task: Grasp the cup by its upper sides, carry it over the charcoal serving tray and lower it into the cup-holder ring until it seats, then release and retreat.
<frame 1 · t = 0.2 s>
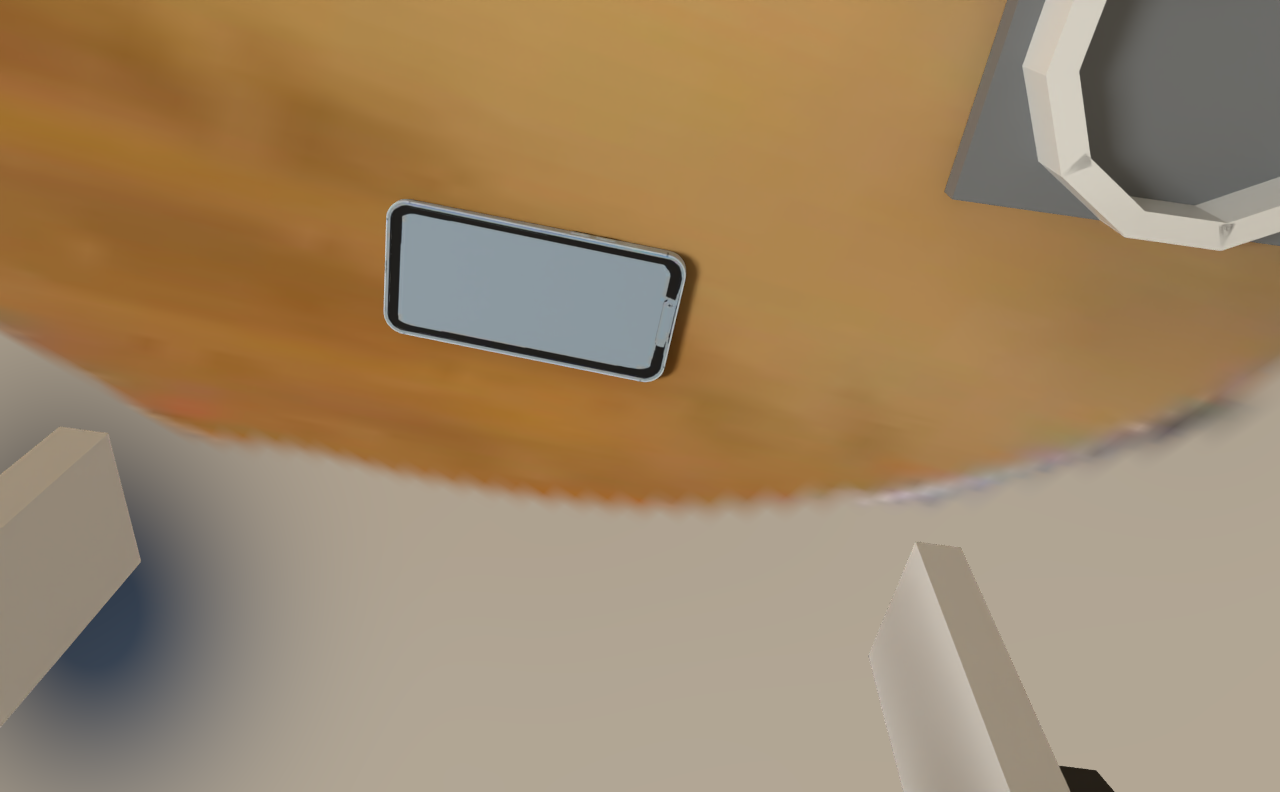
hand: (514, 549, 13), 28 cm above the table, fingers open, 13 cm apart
smartphone: (534, 288, 41), on the table
holder tray: (1214, 35, 33), on the table
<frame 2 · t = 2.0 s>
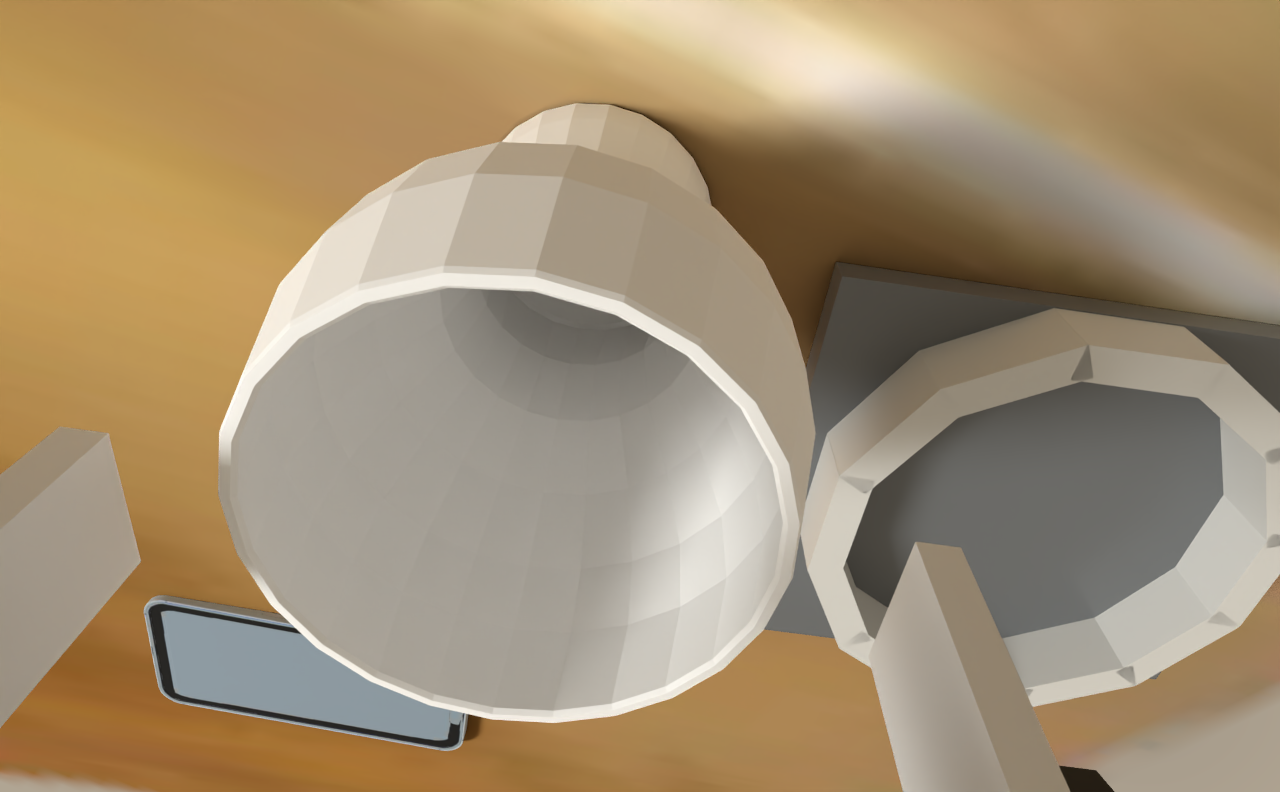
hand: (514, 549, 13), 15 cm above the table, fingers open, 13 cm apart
smartphone: (319, 662, 38), on the table
holder tray: (1011, 488, 31), on the table
cup: (594, 224, 26), on the table
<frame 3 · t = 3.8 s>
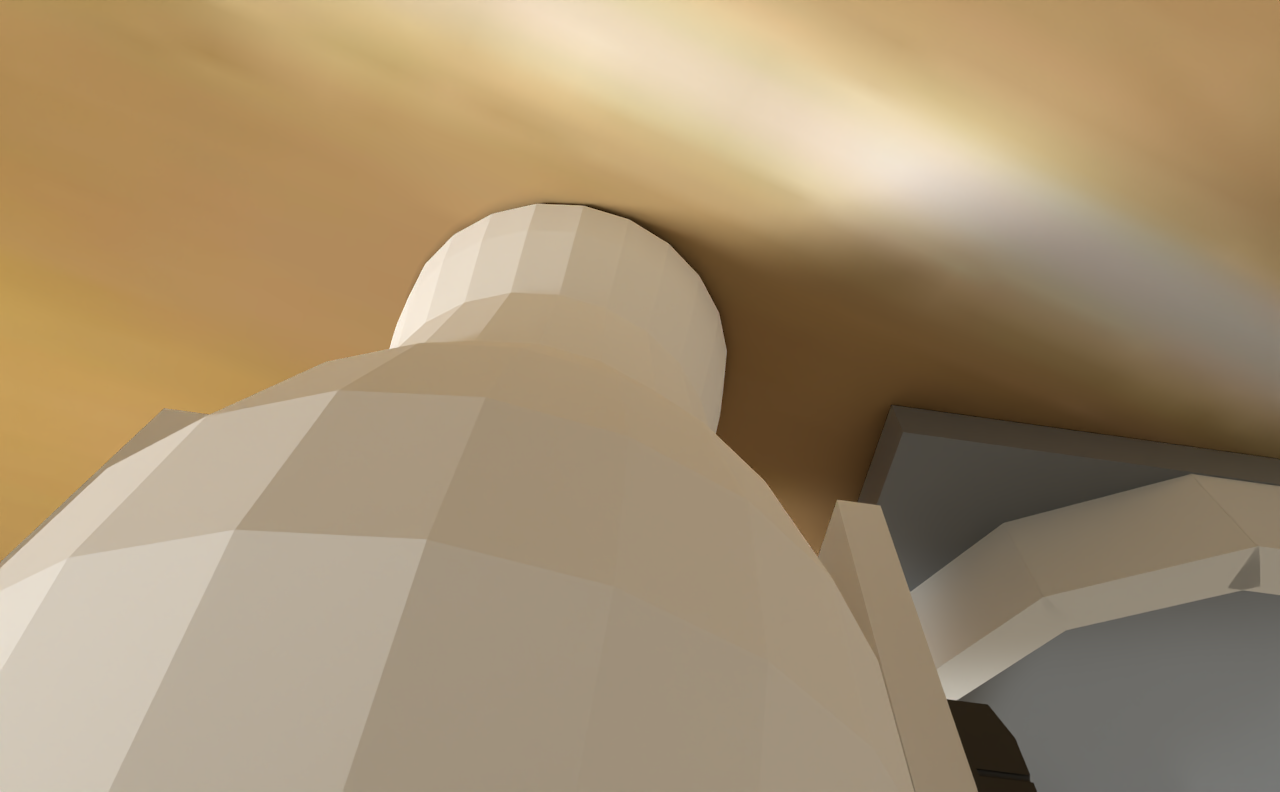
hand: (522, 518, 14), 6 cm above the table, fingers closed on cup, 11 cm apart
holder tray: (1108, 672, 24), on the table
cup: (565, 356, 19), on the table, touching gripper
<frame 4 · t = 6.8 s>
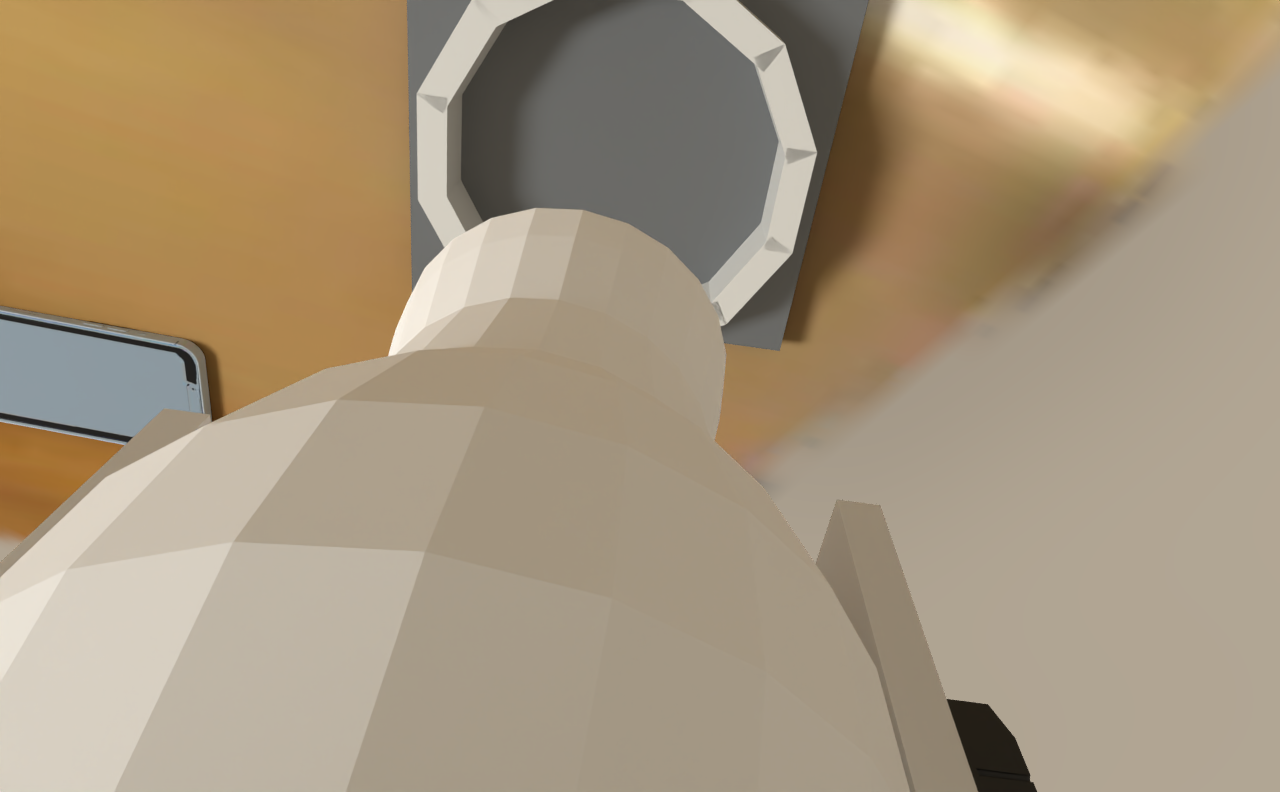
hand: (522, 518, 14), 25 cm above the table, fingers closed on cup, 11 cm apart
smartphone: (76, 370, 43), on the table
holder tray: (618, 153, 36), on the table
cup: (565, 359, 19), point 19 cm above the table, touching gripper
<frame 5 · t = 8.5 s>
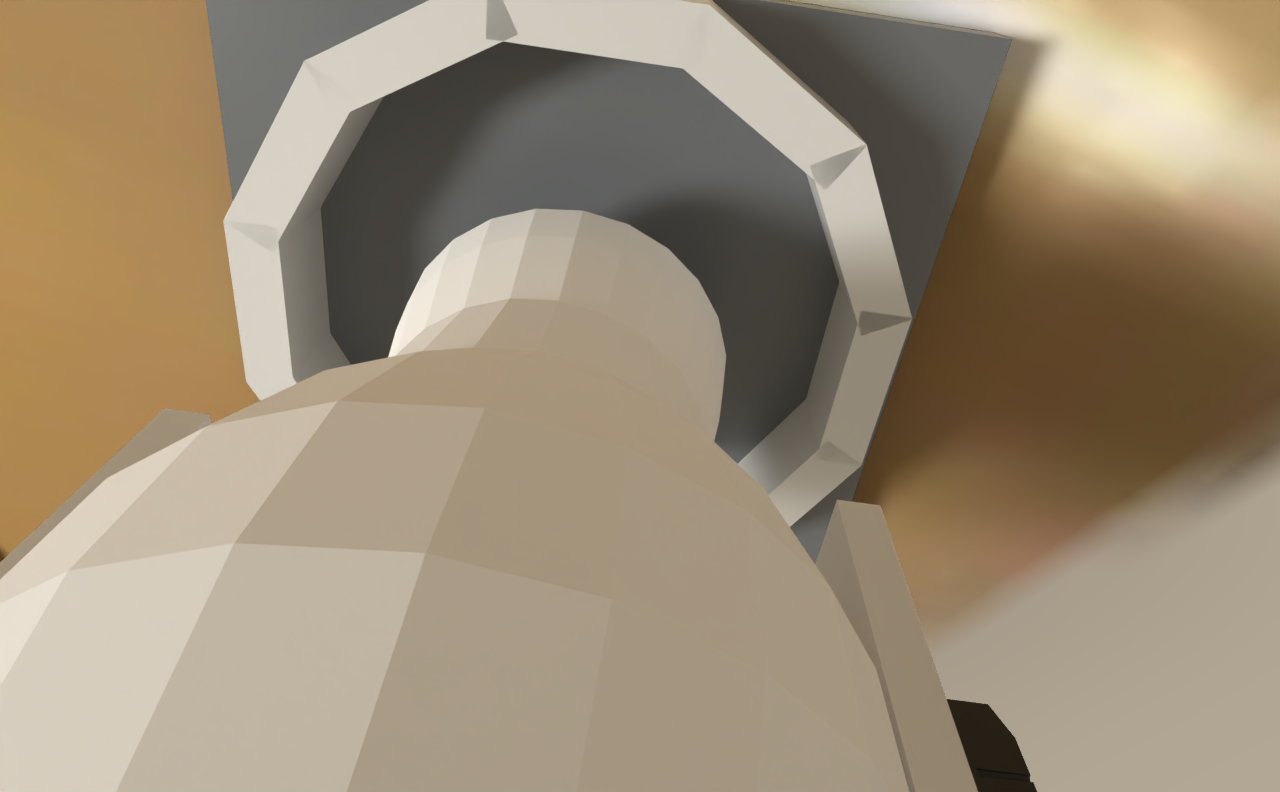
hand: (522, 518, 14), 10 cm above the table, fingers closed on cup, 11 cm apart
holder tray: (580, 290, 22), on the table
cup: (565, 360, 19), point 4 cm above the table, touching gripper
when the fingers open (8 cm above the table, at t = 9.8 s): cup stays where it is, resting on holder tray.
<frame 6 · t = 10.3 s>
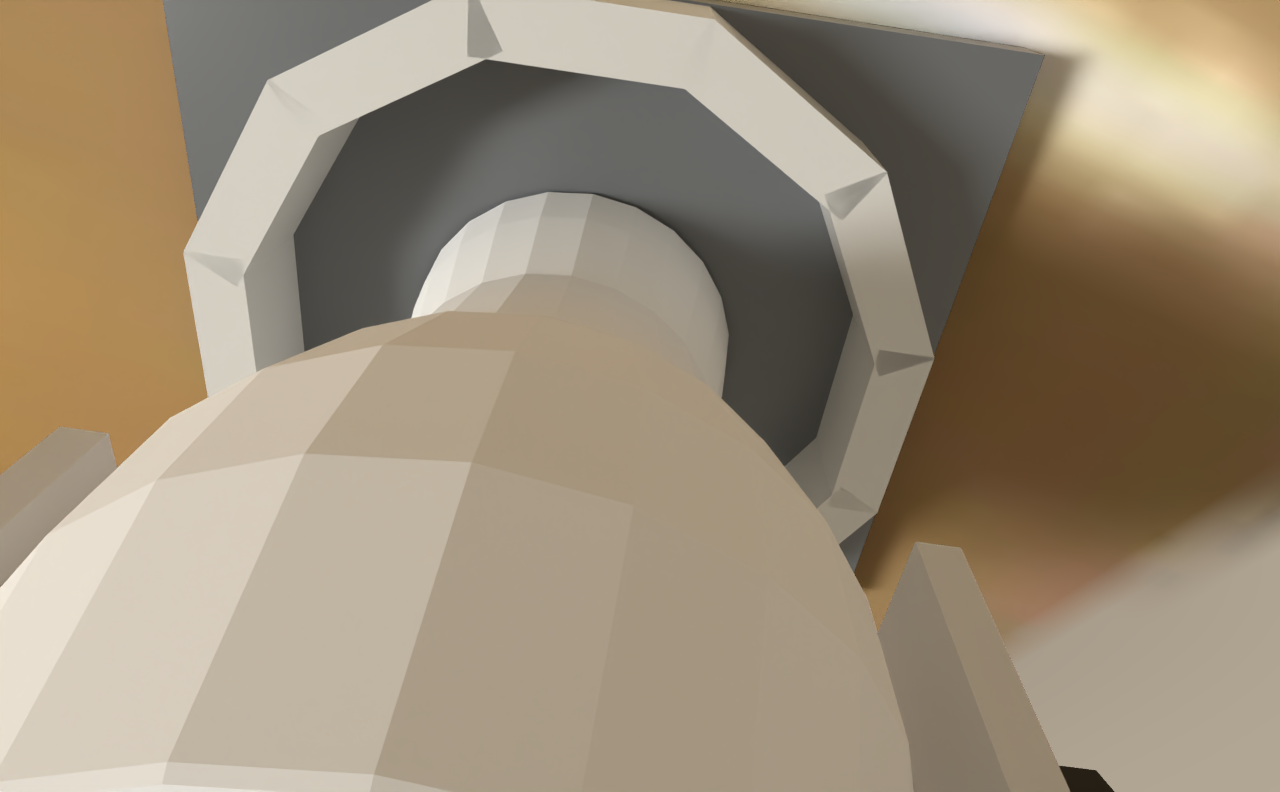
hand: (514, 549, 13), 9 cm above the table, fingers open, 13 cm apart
holder tray: (575, 321, 21), on the table
cup: (574, 339, 20), point 1 cm above the table, touching holder tray
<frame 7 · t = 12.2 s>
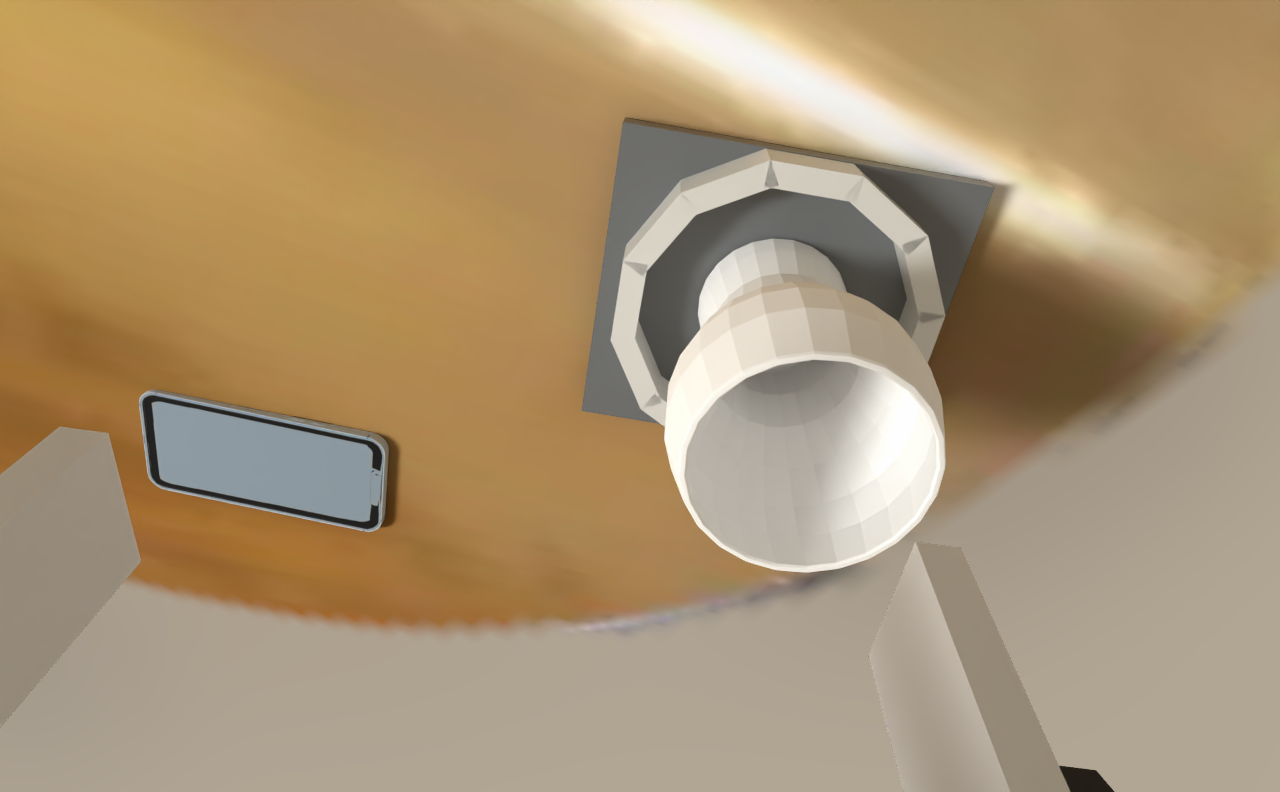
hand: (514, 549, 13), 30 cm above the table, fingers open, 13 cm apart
smartphone: (271, 455, 50), on the table
holder tray: (768, 300, 43), on the table
cup: (771, 308, 42), point 1 cm above the table, touching holder tray
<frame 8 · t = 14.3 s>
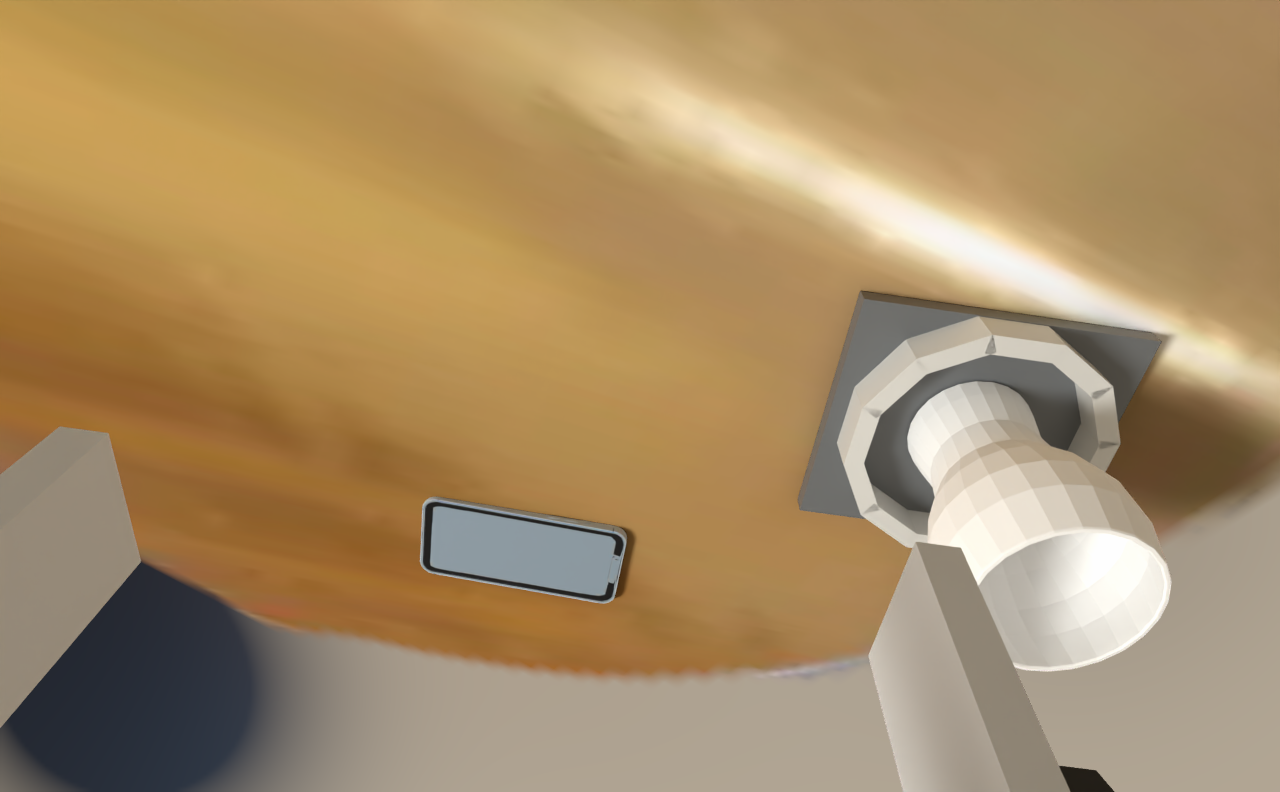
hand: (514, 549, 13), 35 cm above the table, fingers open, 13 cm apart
smartphone: (523, 543, 60), on the table
holder tray: (961, 422, 52), on the table
cup: (967, 430, 51), point 1 cm above the table, touching holder tray
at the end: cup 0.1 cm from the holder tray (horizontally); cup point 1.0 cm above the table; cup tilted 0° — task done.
